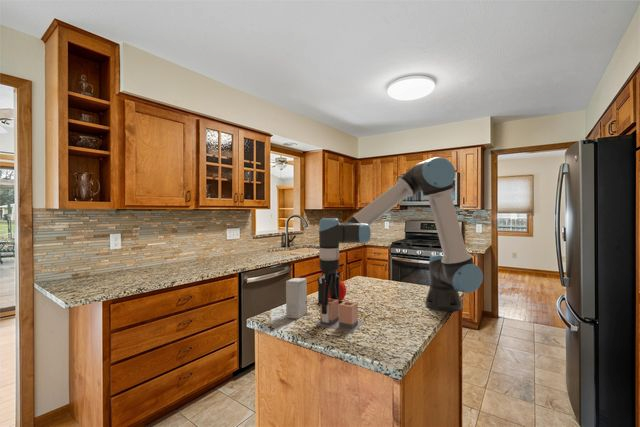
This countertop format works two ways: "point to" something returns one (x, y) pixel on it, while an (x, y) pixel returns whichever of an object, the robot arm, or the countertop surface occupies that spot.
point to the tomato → (341, 291)
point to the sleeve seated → (348, 314)
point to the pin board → (336, 326)
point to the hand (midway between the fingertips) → (329, 319)
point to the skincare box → (296, 297)
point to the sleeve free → (331, 311)
